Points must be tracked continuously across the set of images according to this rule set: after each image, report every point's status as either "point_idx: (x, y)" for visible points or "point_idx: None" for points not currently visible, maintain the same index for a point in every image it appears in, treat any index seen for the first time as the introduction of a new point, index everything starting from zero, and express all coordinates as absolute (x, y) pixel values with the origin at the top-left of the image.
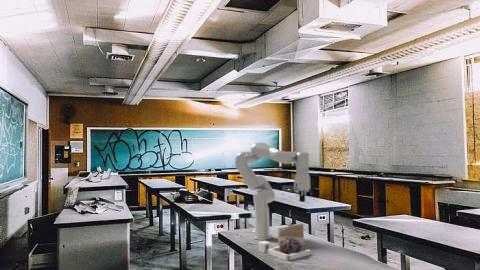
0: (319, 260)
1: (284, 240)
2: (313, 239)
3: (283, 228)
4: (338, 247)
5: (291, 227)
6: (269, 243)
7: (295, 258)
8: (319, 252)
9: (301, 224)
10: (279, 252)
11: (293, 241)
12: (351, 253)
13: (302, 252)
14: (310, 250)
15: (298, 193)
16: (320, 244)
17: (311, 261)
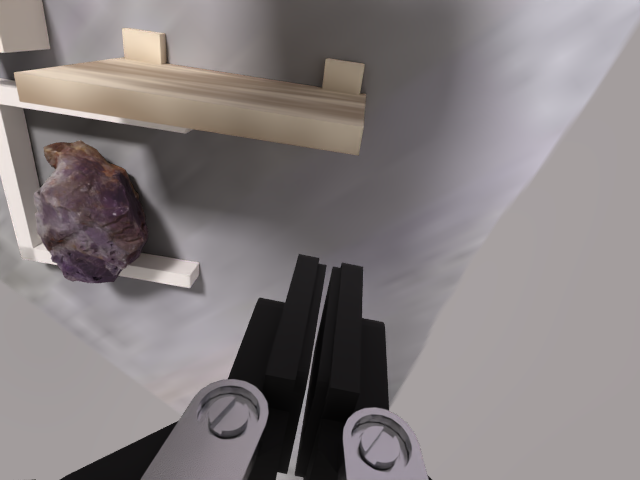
0: (162, 341)
1: (39, 190)
2: (522, 101)
3: (72, 109)
4: (416, 318)
5: (186, 125)
6: (2, 51)
7: None
8: (261, 289)
9: (331, 150)
10: (12, 190)
11: (77, 249)
12: None
13: (127, 275)
14: (189, 286)
15: (124, 452)
16: (414, 215)
17: (124, 324)
